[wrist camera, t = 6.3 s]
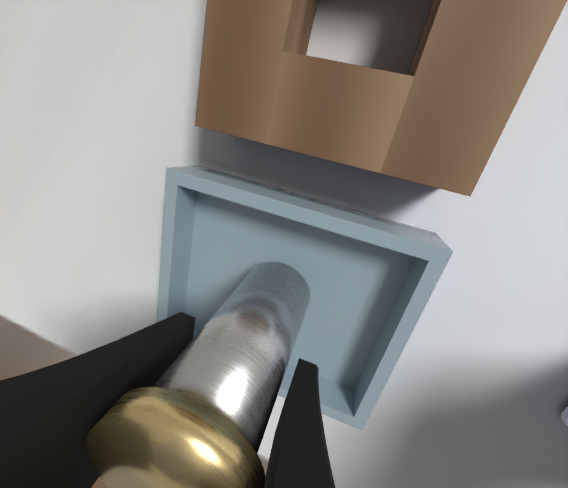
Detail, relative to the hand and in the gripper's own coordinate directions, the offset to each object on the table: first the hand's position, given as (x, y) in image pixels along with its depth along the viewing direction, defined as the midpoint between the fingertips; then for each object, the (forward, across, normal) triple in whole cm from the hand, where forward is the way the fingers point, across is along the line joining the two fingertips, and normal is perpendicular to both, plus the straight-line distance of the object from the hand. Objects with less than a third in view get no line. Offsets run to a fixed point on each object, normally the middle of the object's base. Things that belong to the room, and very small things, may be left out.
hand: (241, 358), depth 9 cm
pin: (+4, 0, -1) cm, 4 cm away
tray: (+6, 0, 0) cm, 6 cm away
